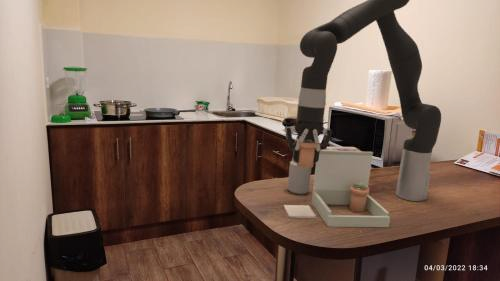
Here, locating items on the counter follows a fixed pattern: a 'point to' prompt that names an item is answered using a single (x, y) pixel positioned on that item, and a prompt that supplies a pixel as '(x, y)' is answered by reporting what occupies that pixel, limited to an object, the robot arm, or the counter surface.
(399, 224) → the counter surface
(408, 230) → the counter surface
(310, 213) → the tile
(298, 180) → the can
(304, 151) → the clay pot
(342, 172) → the cold frame
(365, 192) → the clay pot
